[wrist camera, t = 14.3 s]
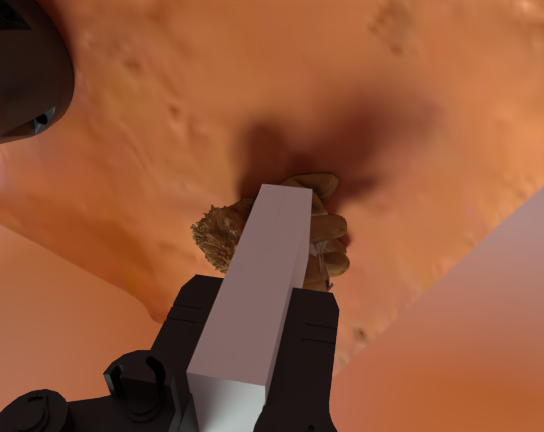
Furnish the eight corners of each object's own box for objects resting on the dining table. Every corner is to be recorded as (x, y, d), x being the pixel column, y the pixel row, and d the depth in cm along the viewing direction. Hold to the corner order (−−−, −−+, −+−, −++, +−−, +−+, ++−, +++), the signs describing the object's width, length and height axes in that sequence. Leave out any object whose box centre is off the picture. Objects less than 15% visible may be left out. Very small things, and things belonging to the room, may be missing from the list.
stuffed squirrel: (352, 253, 49) (342, 356, 38) (224, 242, 52) (183, 335, 41) (356, 172, 43) (346, 268, 33) (212, 165, 46) (160, 251, 35)
